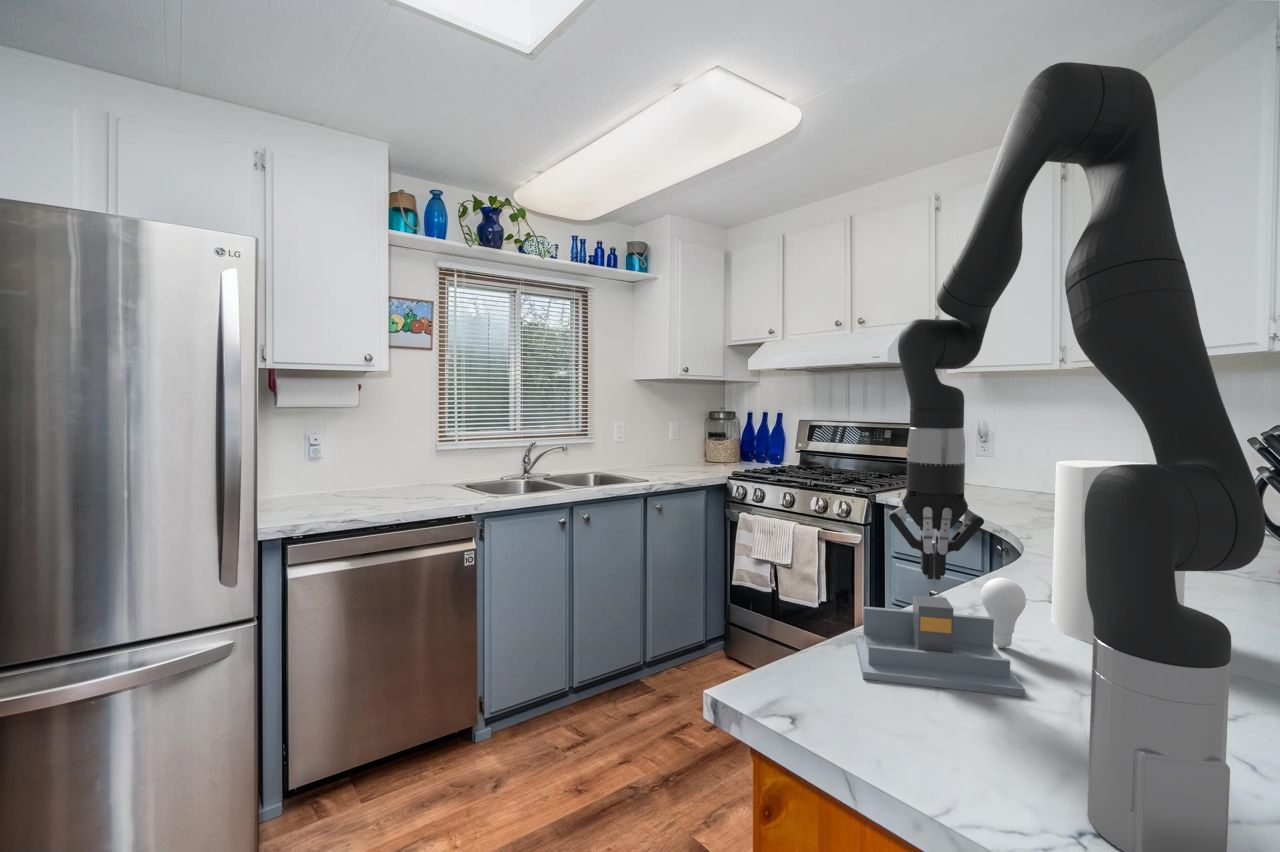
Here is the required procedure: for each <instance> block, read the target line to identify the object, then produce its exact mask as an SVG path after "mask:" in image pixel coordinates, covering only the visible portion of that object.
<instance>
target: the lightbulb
mask: <svg viewBox="0 0 1280 852" xmlns="http://www.w3.org/2000/svg"><path fill="white" fill-rule="evenodd" d="M1026 596H1027V595H1026V593H1025V591H1024V589H1023V588H1022V586H1020V585H1019V584H1018V583H1017V582H1016V581H1013V580H1012V579H1009V578H1006V577H996V578H992V579H990V580H988V581H987V582H986V583H985V584H984V585H983V586H982V587H981V591H980V598H981V603H982V605H983V607H984V608H985V611H986V612H987V614H988V617H992V618H993V619H994V632H993V645H996V646H997V647H998V648H1000V649H1006V648H1008V647H1011V646H1012V639H1013V634H1014V632H1015V626H1016V623H1017V620H1018V618H1019V617H1020V615H1021V614H1022V613H1023V611H1024V610H1025V608H1026V605H1027V597H1026Z"/></svg>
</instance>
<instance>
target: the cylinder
mask: <svg viewBox="0 0 1280 852" xmlns="http://www.w3.org/2000/svg"><path fill="white" fill-rule="evenodd" d="M1127 464H1152V463H1148V462H1147V463H1146V462H1134V461H1122V460H1121V461H1118V460H1093V459H1092V460H1090V459H1089V460H1087V459H1086V460H1081V459H1080V460H1076V459H1075V460H1060V461H1056V463H1055V489H1054V491H1055V492H1054V521H1053V522H1054V523H1053V551H1052V552H1053V553H1052V583H1051V584H1052V589H1051V616H1050V617H1051V620H1050V621H1051V625H1052V626H1053V627H1054V628H1055V629H1056V630H1057V631H1059V632H1060V633H1062V634H1065V635H1066V636H1068V635H1069V637H1071V638H1073V639H1076V640H1079V641H1082V642H1084V643H1088V644H1091V645H1093V627H1094V626H1093V615H1092V612H1091V608H1090V605H1089V601H1088V597H1087V590H1086V555H1085V530H1084V515H1085V504H1086V499H1087V494H1088V491H1089V489H1090V486H1091V484H1092V482H1093V481H1094V479H1095V478H1096V476H1097V475H1098V474H1099V473H1101V472H1102V471H1103V470H1105V469H1107V468H1109V467H1112V466H1117V465H1127ZM1185 581H1186V571H1175V584H1176V593H1177V599H1178V602H1179V603H1180V604H1181V605H1183V606H1185V585H1186V583H1185Z"/></svg>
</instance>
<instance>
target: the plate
mask: <svg viewBox="0 0 1280 852" xmlns="http://www.w3.org/2000/svg"><path fill="white" fill-rule="evenodd" d="M869 645H872V646H883V647H893V648H903V649H913V650H916V649H915V646H914V644H913V642H912V638H901V637H890V636H880V635H869V634H864V647H865V651H866V655H867V659H868V647H869ZM952 653H954V654H964V655H975V656H985V657H995V658H1003V657H1002V656H1001V654H1000V653H999V651H998V650H997V649H996V648H995V646H994V645H993V646H987V645H976V644H965V643H954V642H953V652H952Z"/></svg>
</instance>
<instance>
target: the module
mask: <svg viewBox="0 0 1280 852" xmlns="http://www.w3.org/2000/svg"><path fill="white" fill-rule="evenodd" d="M912 611H913V623H912V642H913V644H914V646H915V649H916V650H923V651H934V652H944V653H952V652H953V614H954V606H952V605H951V602H950V601H949V600H948V599H947V597H942V596H930V595H918V594H917V595H916V594H915V595H914V594H913V595H912Z"/></svg>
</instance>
